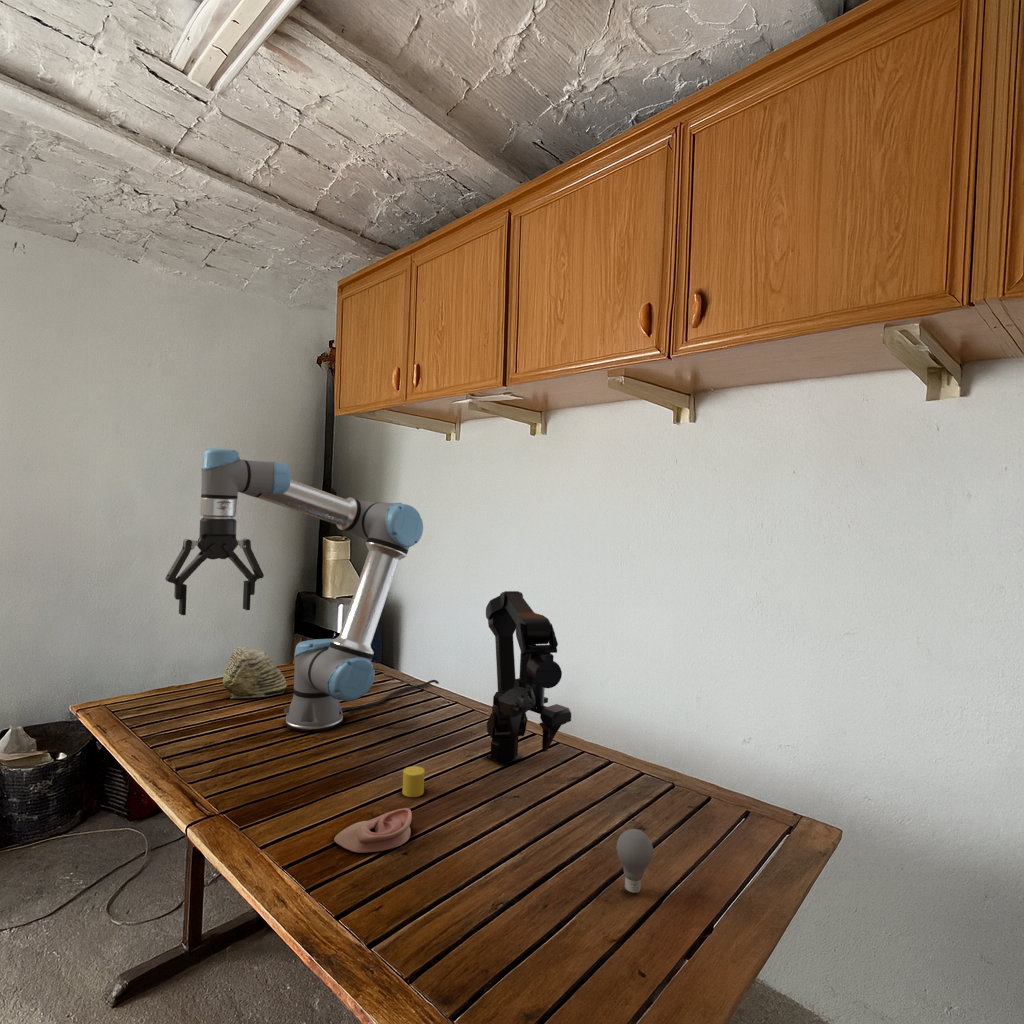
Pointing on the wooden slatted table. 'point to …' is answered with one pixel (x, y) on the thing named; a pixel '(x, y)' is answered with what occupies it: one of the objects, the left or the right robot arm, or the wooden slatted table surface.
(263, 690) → the fossil
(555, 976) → the wooden slatted table surface
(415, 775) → the canister
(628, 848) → the light bulb
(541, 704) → the right robot arm
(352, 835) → the anatomical model
